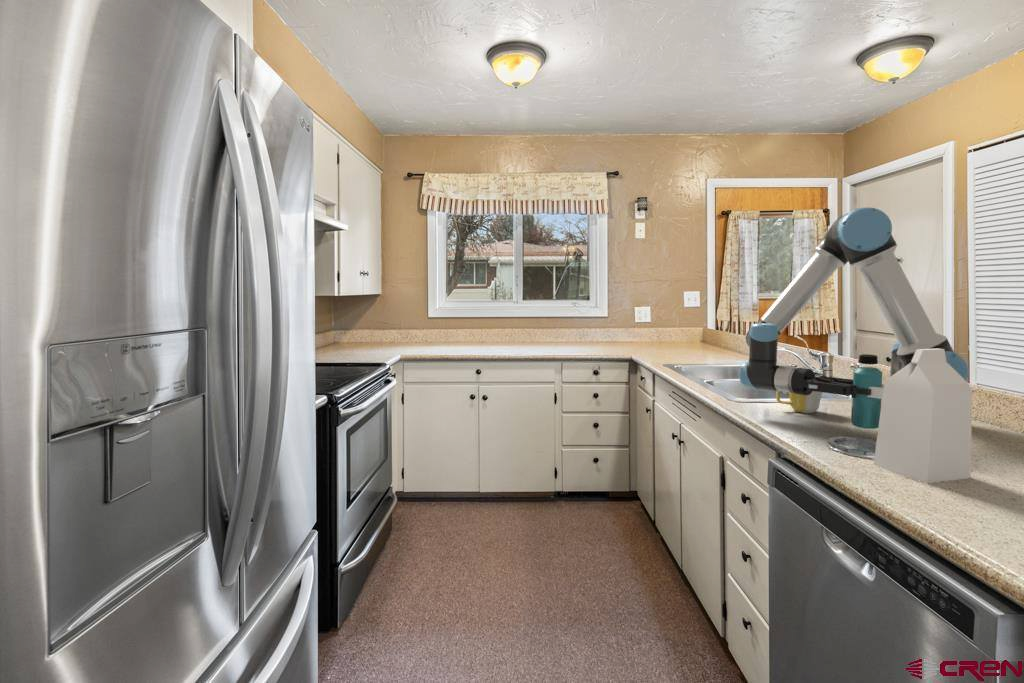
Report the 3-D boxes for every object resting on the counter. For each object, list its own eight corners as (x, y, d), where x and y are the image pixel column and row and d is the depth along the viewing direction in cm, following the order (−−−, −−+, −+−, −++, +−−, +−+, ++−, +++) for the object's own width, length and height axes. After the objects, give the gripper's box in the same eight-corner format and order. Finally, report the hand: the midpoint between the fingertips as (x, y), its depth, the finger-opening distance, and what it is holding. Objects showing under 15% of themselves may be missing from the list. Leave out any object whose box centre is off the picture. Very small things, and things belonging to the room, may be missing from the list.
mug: (818, 408, 173) (820, 376, 172) (827, 416, 163) (829, 381, 162) (771, 406, 177) (773, 374, 176) (777, 413, 167) (779, 379, 166)
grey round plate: (856, 439, 138) (856, 434, 138) (911, 455, 125) (912, 450, 125) (813, 444, 134) (813, 439, 134) (866, 461, 120) (866, 455, 120)
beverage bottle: (885, 435, 136) (889, 356, 133) (856, 434, 138) (859, 357, 135) (873, 427, 142) (877, 352, 140) (845, 426, 144) (849, 352, 141)
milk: (926, 483, 107) (937, 353, 104) (873, 465, 118) (882, 347, 115) (970, 477, 110) (982, 351, 108) (914, 460, 121) (924, 345, 119)
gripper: (809, 389, 159) (903, 402, 141) (779, 397, 148) (877, 412, 130) (810, 364, 158) (904, 373, 140) (780, 370, 147) (878, 381, 129)
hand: (891, 392), depth 135 cm, fingers closed on beverage bottle, 5 cm apart
